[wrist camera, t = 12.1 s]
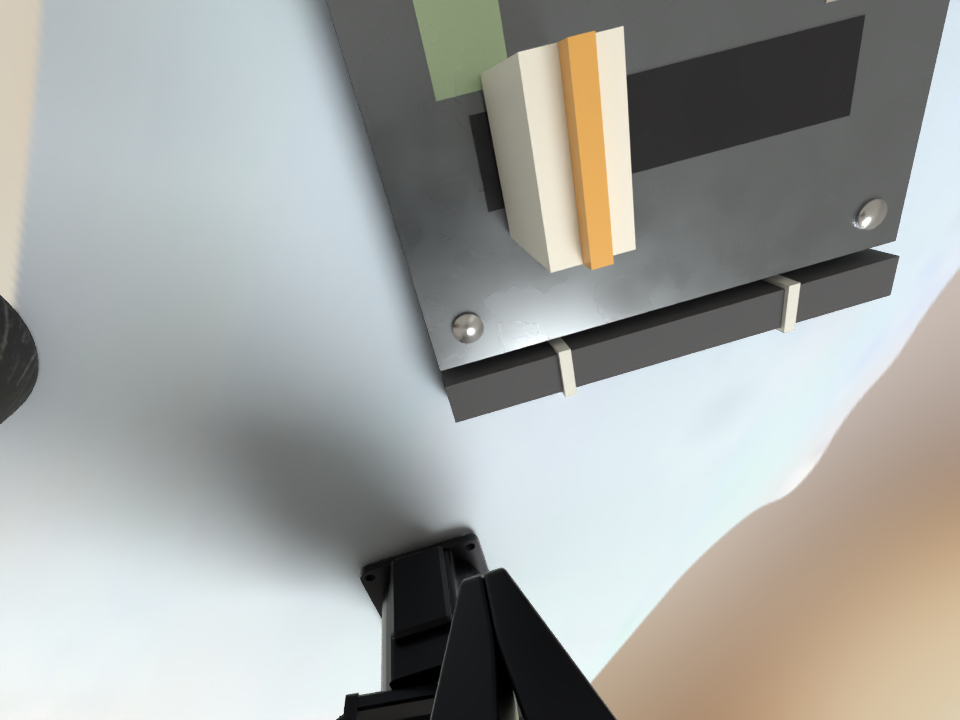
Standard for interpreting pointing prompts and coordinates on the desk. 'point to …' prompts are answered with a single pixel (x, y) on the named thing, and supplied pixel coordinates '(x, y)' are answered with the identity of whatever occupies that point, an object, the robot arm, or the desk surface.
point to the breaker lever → (565, 149)
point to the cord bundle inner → (667, 333)
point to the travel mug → (15, 361)
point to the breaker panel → (644, 148)
